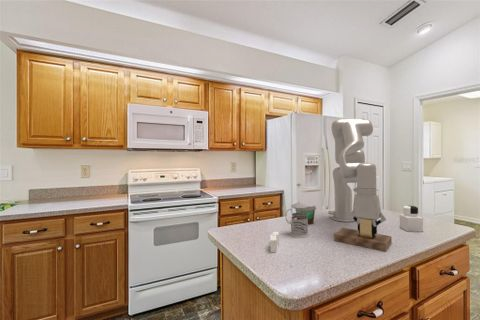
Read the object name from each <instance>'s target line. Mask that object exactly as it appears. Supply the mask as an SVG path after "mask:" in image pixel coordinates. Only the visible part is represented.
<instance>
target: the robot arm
mask: <svg viewBox="0 0 480 320" xmlns="http://www.w3.org/2000/svg"><path fill="white" fill-rule="evenodd" d="M331 133H332V136H333V139H334V159H335V163H336V164H337V165H338V167H335V168H334V169H332V179H333V185H334V187H333V188H334V210H333V211H332V210H328V212H327V213H328V215H332V217H331V218H332V220H334V221H337V222H341V223H342V222H343V223H352V222H355V223H356V224H357V230H358V231H359V233H360V218H363V219H371V220H372V223H373V226H372V236H374V235H375V234H378V226H379V224H382V223H383V222H386V221H387V218H386V216H385V215H384V214H383V213H382V211H381V201H380V197H379V195H378V193H377V192H378V191H377V165H376V164H375V163H371V162H366V158H365V157H366V155H365V152H364V150H363V148H364V147H365V141H364V139H363V137H368V136H371V135H372V134H373V133H374V125H373V123H372V121H371V120H369V119H366V118H359V117H358V118H341V119H340V118H339V119H335V120H333V121H332V123H331ZM349 183H350V184H354V183H355V184H356V187H355V188H353V189H351V187H350V186H349V185H348V184H349ZM352 191H353V192H355V193H356V194H354V197H353V196H352V195H353V192H352Z"/></svg>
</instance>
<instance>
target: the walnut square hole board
mask: <svg viewBox="0 0 480 320" xmlns="http://www.w3.org/2000/svg"><path fill="white" fill-rule="evenodd" d="M333 236H334V237H333V238H334V239H333V240H334V242H339V243H344V244H349V245H353V246H357V247H363V248H366V249H367V248H368V249H372V250H378V251H382V252H387V251H388V249H389V248H390V246H391V245H392V244H393V243H392V239H393V237H392V236H391V235H387V234H381V233H377V234H375V235H374V239H369V238H364V237H360V233H359V231H358V229H351V228H348V227H347V228H346V227H342V228H340V229H339V230H338V231H336V232H335V233H333Z"/></svg>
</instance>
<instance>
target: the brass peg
mask: <svg viewBox="0 0 480 320" xmlns="http://www.w3.org/2000/svg"><path fill="white" fill-rule="evenodd" d="M372 226H373V223H372V220H371V219H363V218H360V237H364V238H369V239H374V236H372Z"/></svg>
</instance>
